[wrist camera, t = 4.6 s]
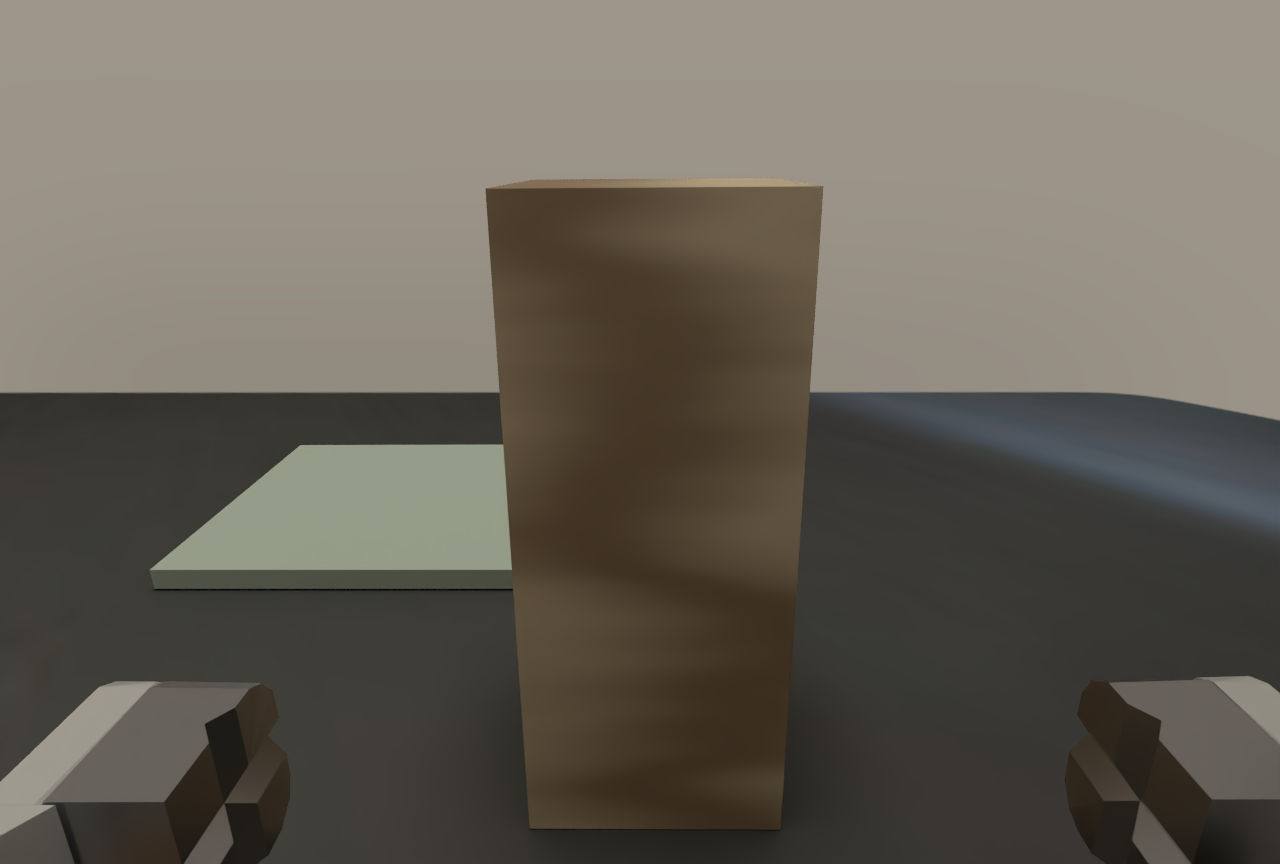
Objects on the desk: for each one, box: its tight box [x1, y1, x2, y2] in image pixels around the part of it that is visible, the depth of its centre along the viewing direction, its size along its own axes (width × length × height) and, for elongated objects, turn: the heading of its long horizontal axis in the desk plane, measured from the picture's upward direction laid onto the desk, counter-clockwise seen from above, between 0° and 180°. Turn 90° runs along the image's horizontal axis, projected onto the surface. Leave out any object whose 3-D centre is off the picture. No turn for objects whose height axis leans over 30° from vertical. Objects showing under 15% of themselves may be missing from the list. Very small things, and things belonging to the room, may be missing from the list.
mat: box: [150, 445, 513, 589], centre depth 27 cm, size 14×10×1 cm
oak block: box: [486, 178, 823, 830], centre depth 14 cm, size 4×4×11 cm
